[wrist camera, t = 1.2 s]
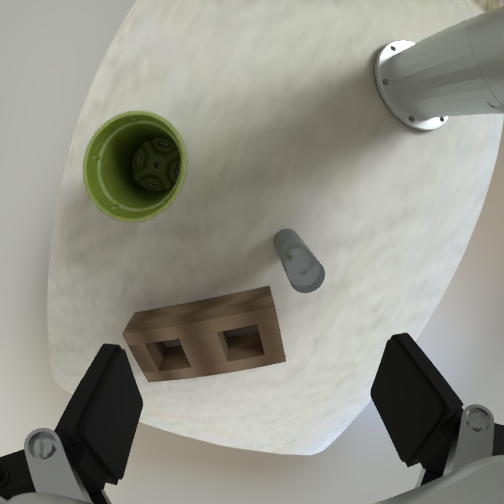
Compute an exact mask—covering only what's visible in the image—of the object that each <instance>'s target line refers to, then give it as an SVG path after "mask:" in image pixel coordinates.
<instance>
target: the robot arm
mask: <svg viewBox="0 0 504 504" xmlns="http://www.w3.org/2000/svg"><path fill="white" fill-rule="evenodd" d="M375 78H376V83H377V87H378V89H379V92H380V94H381V96H382V98H383V100H384V102H385V104H386V105H387V106H388V108H389V109H390V111H391V112H392V113H393V114H394V115H395V116H396V117H397V118H398V119H399V120H401V121H402V122H403V123H404V124H406V125H408V126H410V127H411V128H414V129H417V130H424V131H427V130H434V129H438V128H439V127H441V126H442V125H444V124H445V122H446V121H447V120H448V118H449V116H459V115H474V114H499V113H504V6H501V7H498V8H496V9H493V10H491V11H489V12H486V13H483V14H481V15H478V16H476V17H473V18H470V19H468V20H466V21H463V22H461V23H458V24H456V25H454V26H451V27H449V28H447V29H445V30H442V31H440V32H438V33H436V34H434V35H432V36H430V37H428V38H425V39H423V40H421V41H419V42H417V43H413V42H409V41H401V40H399V41H394V42H392V43H390V44H388V45H386V46H385V47H384V48H382V49H381V51H380V52H379V54H378V56H377V58H376V62H375ZM371 398H372V400H373V402H374V404H375V406H376V408H377V410H378V412H379V414H380V416H381V419H382V420H383V422H384V425H385V427H386V429H387V431H388V433H389V435H390V438H391V439H392V442H393V444H394V446H395V448H396V451H397V452H398V455H399V457H400V459H401V461H403V462H405V463H406V465H407V467H410V466H413V465H415V464H417V463H421V465H422V470H421V473H420V475H419V478H418V481H417V484H416V486H415V489H412V490H410V491H407V492H405V493H402V494H400V495H397V496H394V497H392V498H389V499H386V500H383V501H380V502H377V503H374V504H504V425H500V424H496V423H494V418H493V415H492V413H491V412H490V411H489V410H488V409H487V408H486V407H484V406H481V405H476V404H475V405H470V406H468V407H467V408H465V410H463V408H462V406H463V403H462V402H461V400H460V399H459V397H458V396H457V395H456V393H455V392H454V391H453V389H452V388H451V387H450V385H449V384H448V383H447V381H446V380H445V379H444V377H443V376H442V375H441V374H440V372H439V371H438V370H437V368H436V367H435V366H434V365H433V363H432V362H431V361H430V360H429V359H428V357H427V356H426V355H425V353H424V352H423V351H422V350H421V348H420V347H419V346H418V345H417V344H416V342H415V341H414V340H413V339H412V338H411V336H410V335H409V334H408V333H402V334H396V335H392V337H391V338H390V339H389V340H388V341H387V343H386V347H385V350H384V353H383V356H382V359H381V362H380V365H379V368H378V371H377V374H376V377H375V380H374V382H373V385H372V388H371ZM142 408H143V400H142V397H141V395H140V392H139V389H138V387H137V384H136V381H135V378H134V375H133V372H132V370H131V367H130V364H129V361H128V357H127V354H126V351H125V350H124V349H121V347H120V345H115V344H103V345H102V346H101V348H100V350H99V351H98V353H97V355H96V356H95V358H94V360H93V362H92V363H91V365H90V367H89V368H88V370H87V372H86V374H85V375H84V377H83V378H82V380H81V381H80V383H79V385H78V387H77V389H76V390H75V392H74V394H73V396H72V398H71V400H70V401H69V403H68V405H67V407H66V409H65V411H64V413H63V415H62V417H61V419H60V421H59V423H58V425H57V427H56V429H55V431H52V430H50V429H47V428H40V429H36V430H34V431H32V432H31V433H30V434H29V435H28V436H27V438H26V439H25V443H24V449H23V450H20V451H17V452H14V453H12V454H9V455H5V456H2V457H0V504H111V502H110V500H109V498H108V497H107V495H106V493H105V491H104V490H103V489H104V486H105V483H110V484H114V485H117V483H118V479H122V478H123V476H124V472H125V468H126V464H127V461H128V457H129V453H130V449H131V445H132V442H133V439H134V435H135V432H136V428H137V424H138V421H139V418H140V415H141V411H142Z"/></svg>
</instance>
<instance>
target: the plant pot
mask: <svg viewBox="0 0 504 504" xmlns="http://www.w3.org/2000/svg"><path fill="white" fill-rule="evenodd" d="M159 142H163V143H166V144H168V145H169V147H168V148H167V147H165V146H162V145H158V143H159ZM139 155H141V157H140V160H139V164H138V166H137V165H136V161H137V157H138V156H139ZM155 163H158V164H159V165H158V167H155V166H154V165H155ZM177 164H179V169H178V174H177V175H176V176H174V173H175V171H176V167H177ZM186 169H187V156H186V150H185V146H184V143H183V140H182V138H181V136H180V134H179V133H178V131H177V130H176V129H175V127H174V126H173V125H172V124H171V123H170V122H169V121H168V120H166V119H165V118H163V117H161V116H159V115H157V114H155V113H152V112H147V111H130V112H125V113H122V114H119V115H117V116H115V117H113V118H111V119H110V120H108V121H106V122H105V123H104V124H103V125H102V126H101V127H100V128H99V129H98V130H97V131H96V132H95V134H94V135H93V137H92V138H91V140H90V142H89V144H88V146H87V149H86V152H85V156H84V161H83V177H84V183H85V186H86V190H87V192H88V194H89V196H90V198H91V200H92V201H93V203H94V204H95V205H96V207H97V208H98V209H99V210H100V211H102V212H103V213H104V214H106V215H107V216H109V217H111V218H113V219H115V220H118V221H123V222H141V221H145V220H148V219H151V218H153V217H155V216H157V215H159V214H160V213H162V212H163V211H164V210H165V209H167V208H168V207H169V206H170V205H171V204H172V202H173V201H174V200H175V198H176V197H177V195H178V194H179V192H180V190H181V188H182V185H183V183H184V179H185V175H186ZM147 182H149V183H151V184H155V185H157V187H150V186H148V185H147V184H146V183H147Z"/></svg>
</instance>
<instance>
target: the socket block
mask: <svg viewBox="0 0 504 504" xmlns="http://www.w3.org/2000/svg"><path fill="white" fill-rule="evenodd" d="M256 324H257V326H258V330H259V332H255V333H250V334H245V335H240V336H235V337H229V338H228V336H227V333H226V330H232V329H237V328H242V327H247V326H252V325H256ZM123 336H124V338H125V340H126V342H127V344H128V346H129V348H130V350H131V352H132V354H133V356H134V357H135V359H136V361H137V363H138V365H139V366H140V368H141V370H142V372H143V373H144V375H145V377H146V379H147V380H148V382H157V381H168V380H178V379H187V378H195V377H202V376H210V375H216V374H223V373H229V372H235V371H241V370H246V369H252V368H257V367H262V366H267V365H271V364H276V363H281V362H285V361H286V359H285V354H284V349H283V344H282V339H281V334H280V329H279V324H278V320H277V315H276V310H275V305H274V302H273V298H272V294H271V290H270V286H267V287H262V288H258V289H253V290H249V291H244V292H239V293H235V294H230V295H225V296H220V297H216V298H211V299H206V300H201V301H196V302H191V303H186V304H180V305H175V306H170V307H164V308H159V309H154V310H148V311H142V312H137V313H134V315H133V316H132V318H131V320H130V321H129V323H128V325H127V327H126V328H125V330H124V332H123ZM174 339H179V340H180V343H181V345H182V346H175V347H168V348H166V347H165V345H164V343H163V341H167V340H174Z"/></svg>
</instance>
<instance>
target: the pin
mask: <svg viewBox="0 0 504 504" xmlns="http://www.w3.org/2000/svg"><path fill="white" fill-rule="evenodd" d="M274 246H275V249H276V251H277V253H278V256H279V258H280V260H281V263H282V265H283V267H284V269H285V272H286V274H287V276H288V279H289V281H290V283H291V286H292V287H293V288H294V289H295V290H296V291H298V292H302V293H309V292H312V291H314V290H316V289H317V288H319V287H320V285H321V284H322V283H323V280H324V277H325V272H324V268H323V266H322V265H321V264H320V262H319V261H318V260H317V258H316V257H315V256H314V255H313V253H312V252H311V251H310V249H309V248H308V247H307V246H306V244H305V243H304V242H303V241H302V239H301V238H300V237H299V236H298V234H297V233H296V232H295V231H293V230H291V229H283V230H281V231H279V232H278V233H277V234H276V236H275V238H274Z"/></svg>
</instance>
